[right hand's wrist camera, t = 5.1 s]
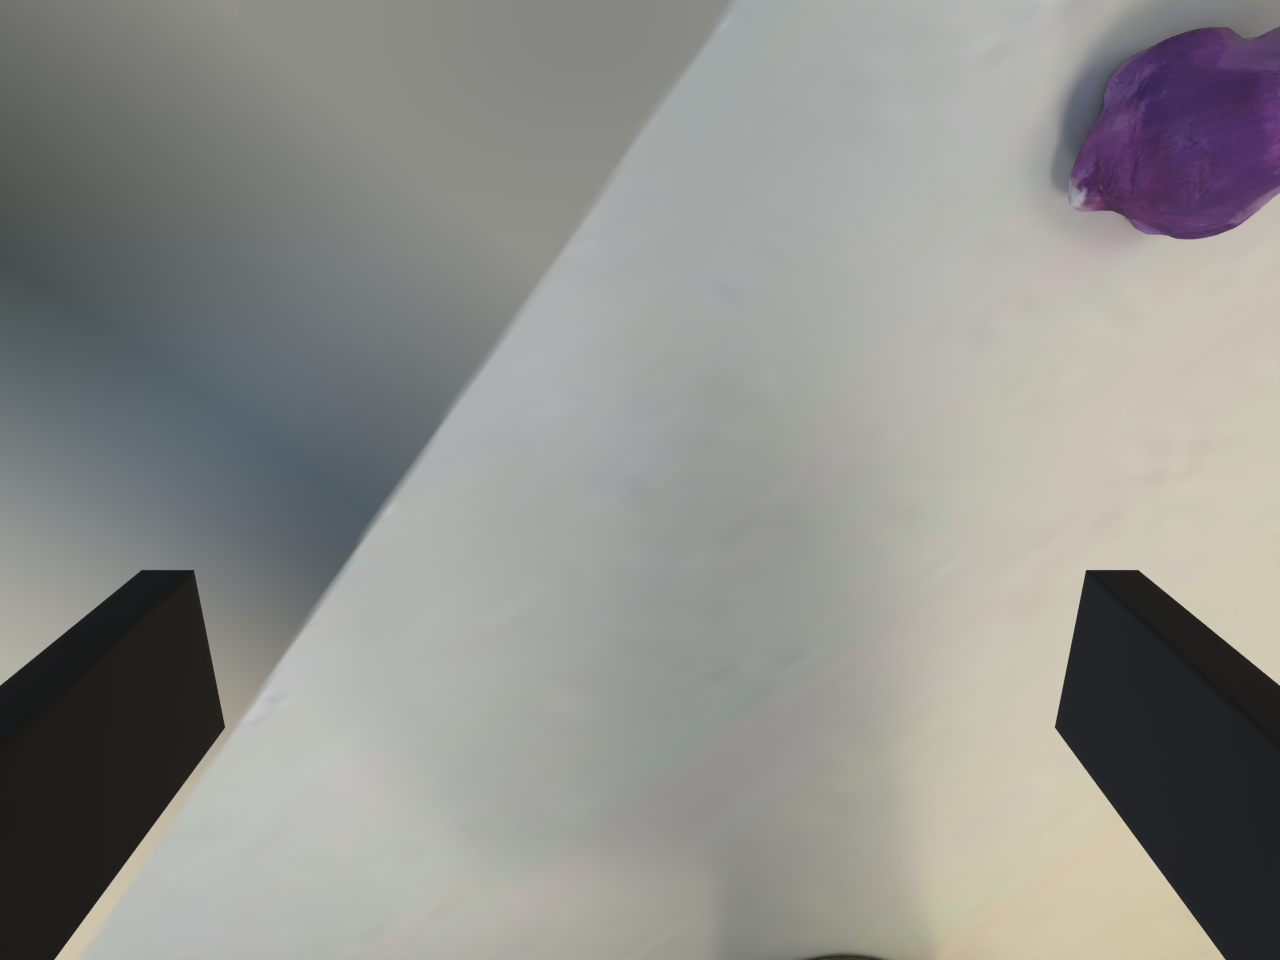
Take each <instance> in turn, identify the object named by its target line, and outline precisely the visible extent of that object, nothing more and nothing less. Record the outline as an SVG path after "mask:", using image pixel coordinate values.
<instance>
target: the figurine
mask: <svg viewBox="0 0 1280 960" xmlns="http://www.w3.org/2000/svg"><path fill="white" fill-rule="evenodd" d="M1279 193H1280V27H1278V28H1276V29H1273V30H1271V31H1269V32H1267V33H1265V34H1263V35H1261V36H1259V37H1255V38H1247V39H1242V38H1241V37H1240V36H1239V35H1237V34H1236V33H1235V32H1234V31H1233V30H1231V29H1229V28H1223V27H1210V28H1202V29H1196V30H1192V31H1188V32H1185V33H1182V34H1179V35H1176V36H1173V37H1171V38H1169V39H1166V40H1164V41H1162V42H1160V43H1158V44H1157V45H1155V46H1153V47H1151V48H1149V49H1146V50H1144V51H1141V52H1139V53H1138V54H1136V55H1134V56H1132V57H1131V58H1129V59H1127V60H1125V61H1124V62H1123V63H1122V64H1121V65H1120V66H1119V67H1118V68H1117V69H1116V70H1115V71H1114V72H1113V74H1112V75H1111V77H1110V79H1109V81H1108V84H1107V87H1106V90H1105V94H1104V105H1103V108H1102V111H1101V114H1100V116H1099V117H1098V119H1097V120H1096V121H1095V123H1094V124H1093V126H1092V128H1091V129H1090V131H1089V132H1088V134H1087V136H1086V139H1085V141H1084V143H1083V146H1082V148H1081V150H1080V153H1079V155H1078V157H1077V159H1076V162H1075V164H1074V166H1073V168H1072V171H1071V174H1070V178H1069V185H1068V196H1069V202H1070V205H1071V206H1072V207H1073V208H1074V209H1076V210H1079V211H1104V210H1105V211H1114V212H1117V213H1119V214H1122V215H1123V216H1125V217H1127V218H1129V219H1130V221H1131V223H1132V225H1133V226H1134V227H1135V228H1136V229H1138V230H1140V231H1142V232H1143V233H1145V234H1157V235H1168V236H1170V237H1173V238H1177V239H1200V238H1206V237H1210V236H1214V235H1218V234H1220V233H1223V232H1225V231H1228V230H1230V229H1233V228H1235V227H1237V226H1239V225H1240V224H1242V223H1243V222H1244V221H1246V220H1247V219H1248V218H1249V217H1251V216H1252V215H1253V214H1254V213H1256V212H1257V211H1258V210H1260V209H1261V208H1262V207H1263V206H1264V205H1265V204H1266V203H1268V202H1269V201H1270V200H1271V199H1272V198H1273V197H1275V196H1276V195H1277V194H1279Z"/></svg>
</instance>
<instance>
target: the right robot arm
mask: <svg viewBox="0 0 1280 960" xmlns="http://www.w3.org/2000/svg"><path fill="white" fill-rule="evenodd" d="M224 728H225V725H224V720H223V715H222V710H221V705H220V700H219V695H218V690H217V685H216V680H215V675H214V670H213V664H212V659H211V654H210V649H209V644H208V639H207V634H206V629H205V624H204V619H203V614H202V609H201V604H200V599H199V594H198V589H197V584H196V579H195V574H194V570H141V571H140V572H139V573H138V574H137V575H135V576H134V577H133V578H132V579H130V580H129V581H128V582H127V583H126V584H124V585H123V586H122V587H121V588H119V589H118V590H117V591H116V592H115V593H113V594H112V595H111V596H110V597H108V598H107V599H106V600H105V601H103V602H102V603H101V604H100V605H99V606H97V607H96V608H95V609H94V610H92V611H91V612H90V613H89V614H88V615H86V616H85V617H84V618H83V619H81V620H80V621H79V622H78V623H77V624H75V625H74V626H73V627H72V628H70V629H69V630H68V631H67V632H66V633H64V634H63V635H62V636H61V637H59V638H58V639H57V640H56V641H54V642H53V643H52V644H51V645H50V646H48V647H47V648H46V649H45V650H43V651H42V652H41V653H40V654H39V655H37V656H36V657H35V658H34V659H32V660H31V661H30V662H29V663H28V664H26V665H25V666H24V667H23V668H21V669H20V670H19V671H18V672H17V673H15V674H14V675H13V676H12V677H10V678H9V679H8V680H7V681H5V682H4V683H3V684H2V685H1V686H0V960H54V959H55V958H56V957H57V955H58V954H59V953H60V951H61V950H62V948H63V947H64V946H65V944H66V943H67V942H68V940H69V939H70V938H71V936H72V935H73V933H74V932H75V931H76V929H77V928H78V927H79V925H80V924H81V923H82V921H83V920H84V919H85V917H86V916H87V914H88V913H89V912H90V910H91V909H92V908H93V906H94V905H95V904H96V902H97V901H98V900H99V898H100V897H101V895H102V894H103V893H104V891H105V890H106V889H107V887H108V886H109V885H110V883H111V882H112V880H113V879H114V878H115V876H116V875H117V874H118V872H119V871H120V870H121V868H122V867H123V866H124V864H125V863H126V861H127V860H128V859H129V857H130V856H131V855H132V853H133V852H134V851H135V849H136V848H137V846H138V845H139V844H140V842H141V841H142V840H143V838H144V837H145V836H146V834H147V833H148V832H149V830H150V829H151V827H152V826H153V825H154V823H155V822H156V821H157V819H158V818H159V817H160V815H161V814H162V812H163V811H164V810H165V808H166V807H167V806H168V804H169V803H170V802H171V800H172V799H173V798H174V796H175V795H176V793H177V792H178V791H179V789H180V788H181V787H182V785H183V784H184V783H185V781H186V780H187V779H188V777H189V776H190V774H191V773H192V772H193V770H194V769H195V768H196V766H197V765H198V764H199V762H200V761H201V760H202V758H203V757H204V755H205V754H206V753H207V751H208V750H209V749H210V747H211V746H212V745H213V743H214V742H215V740H216V739H217V738H218V736H219V735H220V734H221V732H222V731H223V730H224ZM1055 728H1056V730H1057V731H1058V732H1059V734H1060V735H1061V736H1062V738H1063V739H1064V740H1065V742H1066V743H1067V745H1068V746H1069V747H1070V749H1071V750H1072V751H1073V753H1074V754H1075V755H1076V757H1077V758H1078V760H1079V761H1080V762H1081V764H1082V765H1083V766H1084V768H1085V769H1086V770H1087V772H1088V773H1089V774H1090V776H1091V777H1092V779H1093V780H1094V781H1095V783H1096V784H1097V785H1098V787H1099V788H1100V789H1101V791H1102V792H1103V794H1104V795H1105V796H1106V798H1107V799H1108V800H1109V802H1110V803H1111V804H1112V806H1113V807H1114V808H1115V810H1116V811H1117V813H1118V814H1119V815H1120V817H1121V818H1122V819H1123V821H1124V822H1125V823H1126V825H1127V826H1128V828H1129V829H1130V830H1131V832H1132V833H1133V834H1134V836H1135V837H1136V838H1137V840H1138V841H1139V842H1140V844H1141V845H1142V847H1143V848H1144V849H1145V851H1146V852H1147V853H1148V855H1149V856H1150V857H1151V859H1152V860H1153V861H1154V863H1155V864H1156V866H1157V867H1158V868H1159V870H1160V871H1161V872H1162V874H1163V875H1164V876H1165V878H1166V879H1167V881H1168V882H1169V883H1170V885H1171V886H1172V887H1173V889H1174V890H1175V891H1176V893H1177V894H1178V895H1179V897H1180V898H1181V900H1182V901H1183V902H1184V904H1185V905H1186V906H1187V908H1188V909H1189V910H1190V912H1191V913H1192V915H1193V916H1194V917H1195V919H1196V920H1197V921H1198V923H1199V924H1200V925H1201V927H1202V928H1203V929H1204V931H1205V932H1206V934H1207V935H1208V936H1209V938H1210V939H1211V940H1212V942H1213V943H1214V944H1215V946H1216V947H1217V948H1218V950H1219V951H1220V953H1221V954H1222V955H1223V957H1224V958H1225V959H1226V960H1280V686H1279V685H1278V684H1277V683H1276V682H1275V681H1273V680H1272V679H1271V678H1270V677H1268V676H1267V675H1266V674H1265V673H1263V672H1262V671H1261V670H1260V669H1259V668H1257V667H1256V666H1255V665H1254V664H1252V663H1251V662H1250V661H1249V660H1248V659H1246V658H1245V657H1244V656H1243V655H1241V654H1240V653H1239V652H1238V651H1237V650H1235V649H1234V648H1233V647H1232V646H1230V645H1229V644H1228V643H1227V642H1226V641H1224V640H1223V639H1222V638H1221V637H1219V636H1218V635H1217V634H1216V633H1214V632H1213V631H1212V630H1211V629H1210V628H1208V627H1207V626H1206V625H1205V624H1203V623H1202V622H1201V621H1200V620H1199V619H1197V618H1196V617H1195V616H1194V615H1192V614H1191V613H1190V612H1189V611H1188V610H1186V609H1185V608H1184V607H1183V606H1181V605H1180V604H1179V603H1178V602H1177V601H1175V600H1174V599H1173V598H1172V597H1170V596H1169V595H1168V594H1167V593H1166V592H1164V591H1163V590H1162V589H1161V588H1159V587H1158V586H1157V585H1156V584H1154V583H1153V582H1152V581H1151V580H1150V579H1148V578H1147V577H1146V576H1145V575H1143V574H1142V573H1141V572H1140V571H1139V570H1086V574H1085V579H1084V584H1083V589H1082V594H1081V599H1080V604H1079V609H1078V614H1077V619H1076V624H1075V629H1074V634H1073V639H1072V644H1071V649H1070V654H1069V659H1068V664H1067V669H1066V674H1065V679H1064V684H1063V690H1062V695H1061V700H1060V705H1059V710H1058V715H1057V720H1056V725H1055ZM819 960H870V959H863V958H850V957H839V958H826V959H819Z"/></svg>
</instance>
